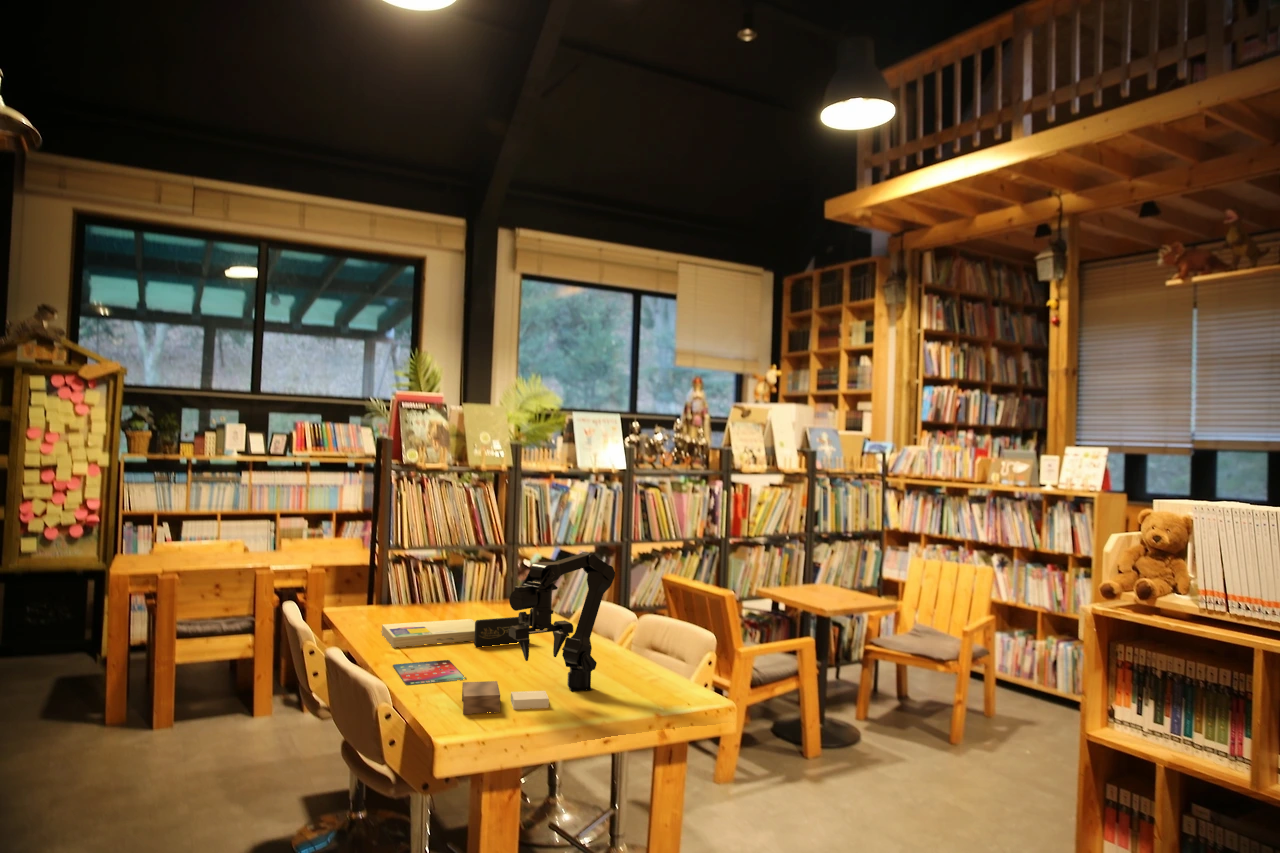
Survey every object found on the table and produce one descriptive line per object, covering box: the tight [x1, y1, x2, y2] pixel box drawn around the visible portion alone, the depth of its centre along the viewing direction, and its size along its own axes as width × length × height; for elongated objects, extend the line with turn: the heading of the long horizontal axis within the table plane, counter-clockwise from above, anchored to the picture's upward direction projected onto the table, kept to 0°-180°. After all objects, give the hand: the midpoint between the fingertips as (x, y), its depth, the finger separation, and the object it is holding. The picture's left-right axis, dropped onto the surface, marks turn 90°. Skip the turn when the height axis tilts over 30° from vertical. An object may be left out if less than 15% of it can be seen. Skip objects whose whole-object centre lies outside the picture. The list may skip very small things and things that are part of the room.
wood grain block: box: [461, 680, 501, 715], centre depth 235 cm, size 10×14×5 cm
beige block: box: [510, 690, 550, 710], centre depth 238 cm, size 10×8×3 cm
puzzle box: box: [381, 618, 476, 649], centre depth 318 cm, size 36×5×24 cm
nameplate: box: [473, 616, 530, 648], centre depth 310 cm, size 21×2×10 cm, turn 119°
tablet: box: [392, 659, 467, 686], centre depth 269 cm, size 19×25×1 cm
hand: (540, 658), depth 244 cm, fingers open, 9 cm apart
